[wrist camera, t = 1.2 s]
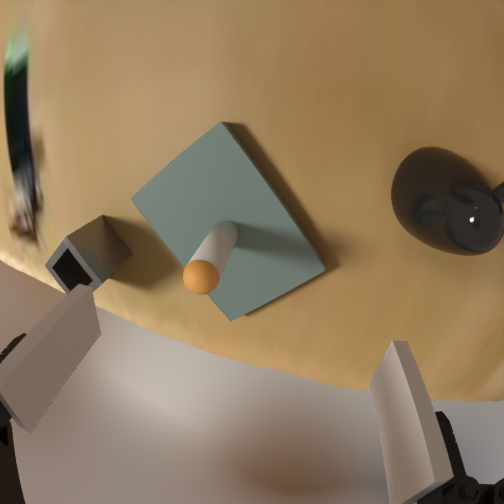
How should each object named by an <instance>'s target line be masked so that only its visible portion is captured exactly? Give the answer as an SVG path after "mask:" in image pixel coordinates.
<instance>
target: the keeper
mask: <svg viewBox="0 0 504 504" xmlns="http://www.w3.org/2000/svg"><path fill="white" fill-rule="evenodd" d="M131 201H132V202H133V203H134V205H135V206H136V207H137V209H138V210H139V211H140V213H141V214H142V215H143V216H144V218H145V219H146V220H147V222H148V223H149V224H150V225H151V227H152V228H153V229H154V231H155V232H156V233H157V234H158V236H159V237H160V238H161V239H162V241H163V242H164V243H165V244H166V246H167V247H168V248H169V249H170V251H171V252H172V253H173V254H174V255H175V257H176V258H177V259H178V260H179V262H180V263H181V264H182V265H183V266H184V268H185V269H184V272H183V280H184V283H185V285H186V287H187V288H188V289H189V290H190V291H191V292H193V293H195V294H199V295H204V294H207V295H208V296H209V297H210V298H211V299H212V301H213V302H214V303H215V304H216V305H217V306H218V308H219V309H220V310H221V311H222V312H223V313H224V314H225V315H226V317H227V318H228V319H229V320H230V321H233V320H235V319H237V318H239V317H241V316H243V315H245V314H246V313H248V312H250V311H252V310H254V309H256V308H258V307H260V306H262V305H264V304H266V303H267V302H269V301H271V300H273V299H275V298H277V297H279V296H281V295H282V294H284V293H286V292H288V291H290V290H292V289H293V288H295V287H297V286H299V285H301V284H302V283H304V282H306V281H308V280H310V279H311V278H313V277H315V276H317V275H319V274H320V273H322V272H324V271H326V267H325V263H324V261H323V260H322V258H321V257H320V255H319V254H318V252H317V251H316V249H315V248H314V246H313V244H312V243H311V241H310V240H309V238H308V237H307V235H306V234H305V232H304V231H303V230H302V228H301V227H300V225H299V224H298V222H297V221H296V219H295V218H294V216H293V215H292V213H291V212H290V210H289V209H288V208H287V206H286V205H285V203H284V202H283V200H282V199H281V198H280V196H279V195H278V193H277V192H276V190H275V189H274V188H273V186H272V185H271V183H270V182H269V181H268V179H267V178H266V176H265V175H264V174H263V172H262V171H261V169H260V168H259V167H258V165H257V164H256V163H255V161H254V160H253V159H252V157H251V156H250V154H249V153H248V152H247V150H246V149H245V148H244V146H243V145H242V144H241V142H240V141H239V140H238V138H237V137H236V136H235V134H234V133H233V132H232V130H231V129H230V128H229V127H228V125H227V124H226V123H225V122H220V123H219V124H217V125H216V126H215V127H213V128H212V129H211V130H210V131H208V132H207V133H206V134H204V135H203V136H202V137H201V138H199V139H198V140H197V141H196V142H194V143H193V144H192V145H191V146H189V147H188V148H187V149H186V150H185V151H183V152H182V153H181V154H180V155H179V156H177V157H176V158H175V159H174V160H173V161H171V162H170V163H169V164H168V165H167V166H166V167H165V168H163V169H162V170H161V171H160V172H159V173H158V174H157V175H155V176H154V177H153V178H152V179H151V180H150V181H149V182H148V183H147V184H146V185H144V186H143V187H142V188H141V189H140V190H139V191H138V192H137V193H136V194H135V195H134V196H133V197H132V198H131Z"/></svg>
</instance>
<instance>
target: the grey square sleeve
mask: <svg viewBox="0 0 504 504" xmlns="http://www.w3.org/2000/svg"><path fill="white" fill-rule="evenodd" d="M132 255H133V254H132V253H131V252H130V251H129V249H128V248H127V247H126V246H125V244H124V243H123V242H122V240H121V239H120V238H119V237H118V235H117V234H116V233H115V231H114V230H113V229H112V227H111V226H110V225H109V224H108V222H107V221H106V220H105V218H104V217H103V215H101V216H100V217H98V218H96V219H94V220H93V221H91V222H89V223H88V224H86V225H84V226H83V227H81V228H79V229H78V230H76V231H75V232H73V233H71V234H70V235H68V236H67V237H66V238H65V239H64V240H63V242H62V243H61V244H60V245H59V247H58V248H57V249H56V251H55V252H54V253H53V255H52V256H51V257H50V259H49V260H48V262H47V263H46V264H45V266H46V268H47V269H48V270H49V272H50V273H51V274H52V276H53V277H54V278H55V280H56V281H57V282H58V283H59V285H60V286H61V287H62V289H63V290H64V291H65V292H66V294H69V293H70V292H71V291H72V290H73V289H74V288H75V287H76V286H77V285H78V284H82V285H85V286H89V287H92V291H93V292H94V291H95V290H96V289H97V288H98V287H99V286H100V285H101V284H103V283H104V282H105V281H106V280H107V279H108V278H109V277H110V276H111V275H112V274H113V273H114V272H115V271H116V270H117V269H118V268H119V267H120V266H121V265H122V264H123V263H124V262H125V261H127V260H128V259H129V258H130V257H131V256H132Z"/></svg>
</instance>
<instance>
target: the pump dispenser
mask: <svg viewBox="0 0 504 504" xmlns="http://www.w3.org/2000/svg"><path fill="white" fill-rule="evenodd" d="M391 200H392V206H393V210H394V213H395V215H396V217H397V219H398V221H399V223H400V224H401V225H402V227H403V228H404V229H405V230H406V231H407V232H408V233H410V234H411V235H412V236H413V237H415V238H416V239H418V240H419V241H421V242H423V243H425V244H426V245H428V246H430V247H432V248H435V249H437V250H440V251H443V252H447V253H451V254H456V255H463V256H476V255H481V254H484V253H487V252H489V251H491V250H492V249H493V248H495V247H496V246H497V244H498V243H499V242H500V240H501V238H502V236H503V234H504V210H503V206H502V204H503V203H504V182H502V183H501V184H500V185H498V186H497V187H495V188H493V186H492V185H491V183H490V182H489V180H488V179H487V178H486V177H485V176H484V174H483V173H482V172H481V171H480V170H479V169H478V168H476V167H475V166H474V165H473V164H472V163H470V162H469V161H468V160H466V159H464V158H463V157H461V156H459V155H457V154H456V153H454V152H452V151H449V150H447V149H444V148H440V147H423V148H420V149H418V150H416V151H414V152H412V153H411V154H409V155H408V156H407V157H406V158H405V159H404V160H403V161H402V163H401V164H400V165H399V167H398V168H397V170H396V172H395V175H394V178H393V182H392V190H391Z"/></svg>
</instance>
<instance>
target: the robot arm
mask: <svg viewBox="0 0 504 504" xmlns="http://www.w3.org/2000/svg"><path fill="white" fill-rule="evenodd" d="M100 335H101V330H100V326H99V322H98V317H97V312H96V308H95V302H94V297H93V291H92V287H89V286H85V285H82V284H78V285H77V286H76V287H75V288H74V289H73V290H72V291H71V292H70V293H69V294H67V295H66V296H65V297H64V298H63V299H62V300H61V301H60V302H59V303H58V304H57V305H56V306H55V307H54V308H53V309H52V310H51V311H50V312H49V313H48V314H47V315H46V316H45V317H44V318H43V319H42V320H41V321H40V322H39V323H38V324H37V325H36V326H35V327H34V328H33V329H32V330H31V331H30V332H29V333H28V334H24V333H23V334H22V335H20V336H18V337H16V338H15V339H13V340H12V342H11V343H10V344H9V345H8V346H7V348H5V349H4V350H3V351H2V352H1V354H0V504H25V501H24V497H23V493H22V488H21V484H20V479H19V474H18V469H17V464H16V458H15V451H14V444H13V434H12V426H11V422H10V421H9V420H10V419H11V418H13V419H14V420H15V422H16V423H17V424H18V425H19V426H20V427H22V428H23V429H25V430H26V431H28V432H29V433H30V434H31V433H32V432H33V430H34V429H35V427H36V426H37V424H38V422H39V421H40V419H41V418H42V416H43V415H44V413H45V412H46V410H47V409H48V407H49V406H50V404H51V403H52V401H53V400H54V398H55V397H56V396H57V394H58V393H59V391H60V390H61V388H62V387H63V386H64V384H65V383H66V381H67V380H68V378H69V377H70V376H71V374H72V373H73V371H74V370H75V369H76V367H77V365H78V364H79V363H80V362H81V360H82V359H83V358H84V356H85V355H86V354H87V352H88V351H89V350H90V348H91V347H92V345H93V344H94V343H95V342H96V340H97V339H98V338H99V336H100ZM369 385H370V389H371V394H372V399H373V403H374V408H375V413H376V418H377V423H378V429H379V434H380V440H381V446H382V452H383V458H384V464H385V472H386V479H387V486H388V495H389V504H413V503H414V502H416V501H417V504H504V478H503V479H501V480H500V481H498V482H497V483H496V484H479V483H478V482H477V480H475V479H474V478H473V477H469V476H467V475H466V472H465V469H464V465H463V462H462V458H461V455H460V452H459V448H458V445H457V442H455V441H456V439H455V436H454V434H453V430H452V427H451V424H450V421H449V420H448V418H447V417H446V416H445V415H444V413H443V412H442V411H439V412H434V409H433V406H432V403H431V400H430V397H429V395H428V392H427V389H426V387H425V384H424V381H423V379H422V376H421V374H420V371H419V369H418V366H417V364H416V361H415V359H414V356H413V354H412V352H411V349H410V347H409V345H408V342H407V341H395V340H392V342H391V344H390V346H389V348H388V350H387V352H386V354H385V355H384V357H383V359H382V361H381V363H380V365H379V367H378V368H377V370H376V372H375V374H374V375H373V377H372V379H371V381H370V382H369Z"/></svg>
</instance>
